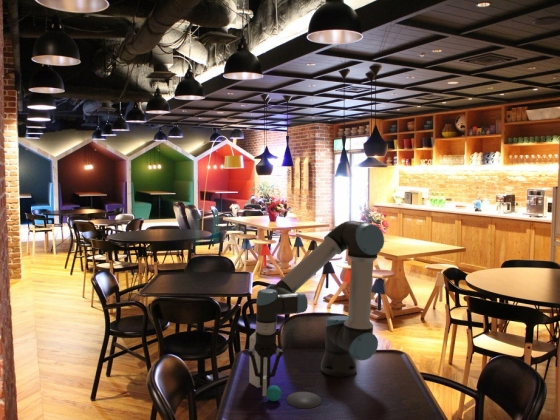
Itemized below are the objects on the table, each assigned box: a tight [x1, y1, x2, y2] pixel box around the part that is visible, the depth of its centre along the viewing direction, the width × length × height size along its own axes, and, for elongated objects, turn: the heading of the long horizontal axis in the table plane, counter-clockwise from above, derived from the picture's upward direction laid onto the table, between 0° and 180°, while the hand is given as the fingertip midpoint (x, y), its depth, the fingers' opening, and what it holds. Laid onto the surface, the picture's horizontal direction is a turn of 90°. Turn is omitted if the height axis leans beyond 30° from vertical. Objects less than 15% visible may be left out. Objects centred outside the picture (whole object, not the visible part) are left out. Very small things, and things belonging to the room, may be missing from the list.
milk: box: [248, 330, 267, 388], centre depth 196 cm, size 6×6×22 cm
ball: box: [266, 385, 282, 402], centre depth 182 cm, size 6×6×6 cm
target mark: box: [286, 391, 322, 409], centre depth 183 cm, size 13×13×1 cm
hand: (264, 394), depth 182 cm, fingers closed
